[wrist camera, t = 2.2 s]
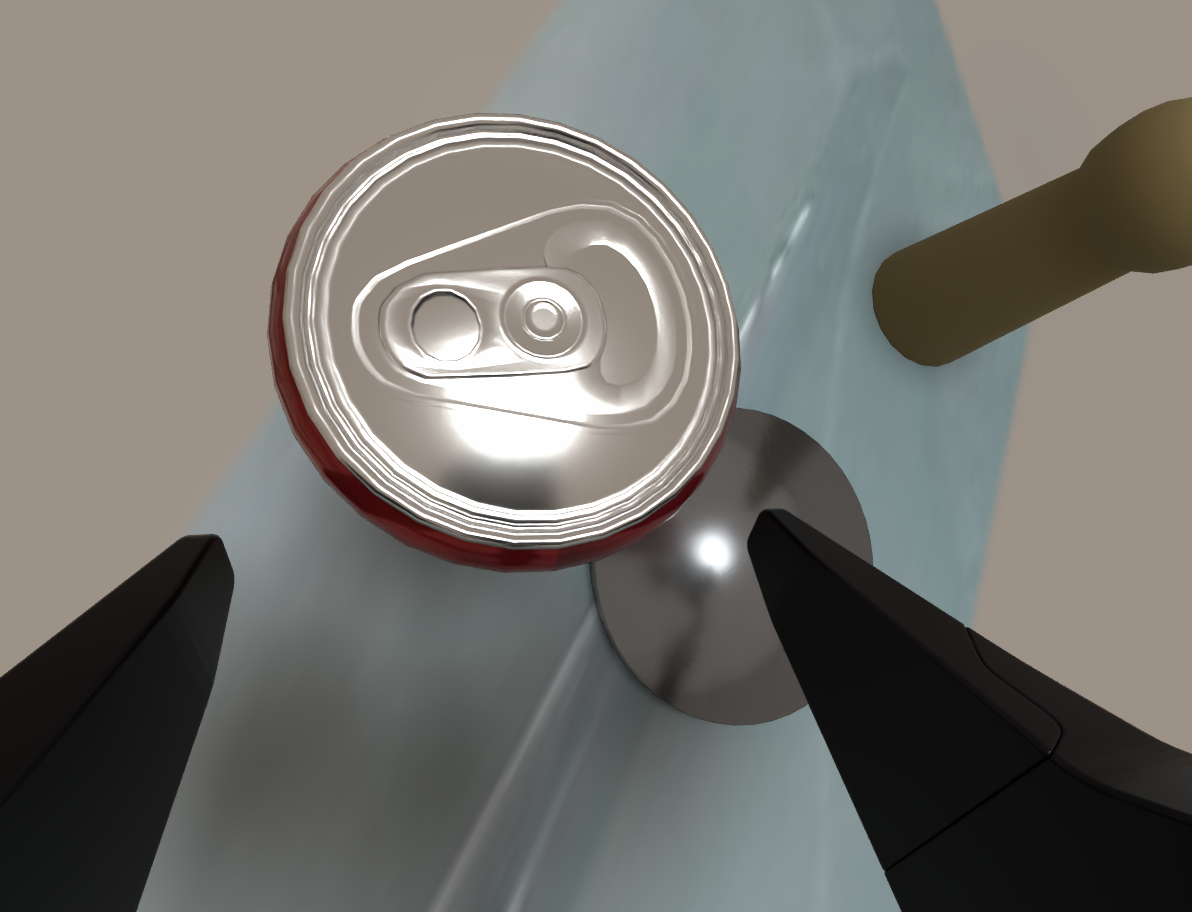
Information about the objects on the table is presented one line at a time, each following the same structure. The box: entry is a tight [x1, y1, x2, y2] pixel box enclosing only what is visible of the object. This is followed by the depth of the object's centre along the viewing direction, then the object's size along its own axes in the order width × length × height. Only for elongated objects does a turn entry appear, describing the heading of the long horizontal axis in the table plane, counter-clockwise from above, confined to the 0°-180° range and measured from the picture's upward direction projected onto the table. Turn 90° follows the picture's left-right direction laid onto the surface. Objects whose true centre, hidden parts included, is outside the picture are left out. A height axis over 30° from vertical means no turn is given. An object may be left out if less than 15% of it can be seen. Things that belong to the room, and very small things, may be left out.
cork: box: [873, 97, 1192, 366], centre depth 21 cm, size 6×6×11 cm
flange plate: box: [590, 408, 873, 725], centre depth 21 cm, size 12×12×1 cm
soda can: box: [267, 113, 741, 573], centre depth 13 cm, size 7×7×12 cm
